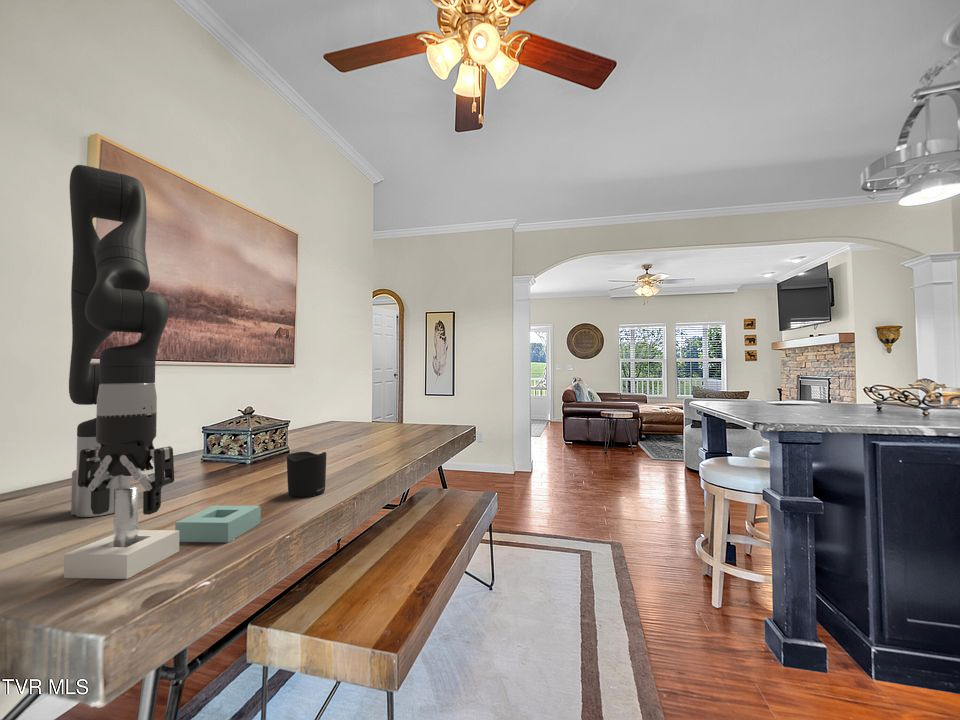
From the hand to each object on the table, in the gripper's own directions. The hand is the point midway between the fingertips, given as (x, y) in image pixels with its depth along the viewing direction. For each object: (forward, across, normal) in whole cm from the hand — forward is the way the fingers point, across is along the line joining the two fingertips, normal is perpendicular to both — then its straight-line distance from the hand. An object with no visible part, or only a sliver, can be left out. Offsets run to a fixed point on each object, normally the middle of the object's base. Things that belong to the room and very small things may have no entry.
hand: (125, 513), depth 68 cm
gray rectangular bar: (+8, 0, 0) cm, 8 cm away
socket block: (+8, 0, 0) cm, 8 cm away
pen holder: (+8, +10, +41) cm, 43 cm away
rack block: (+8, +6, +14) cm, 17 cm away
